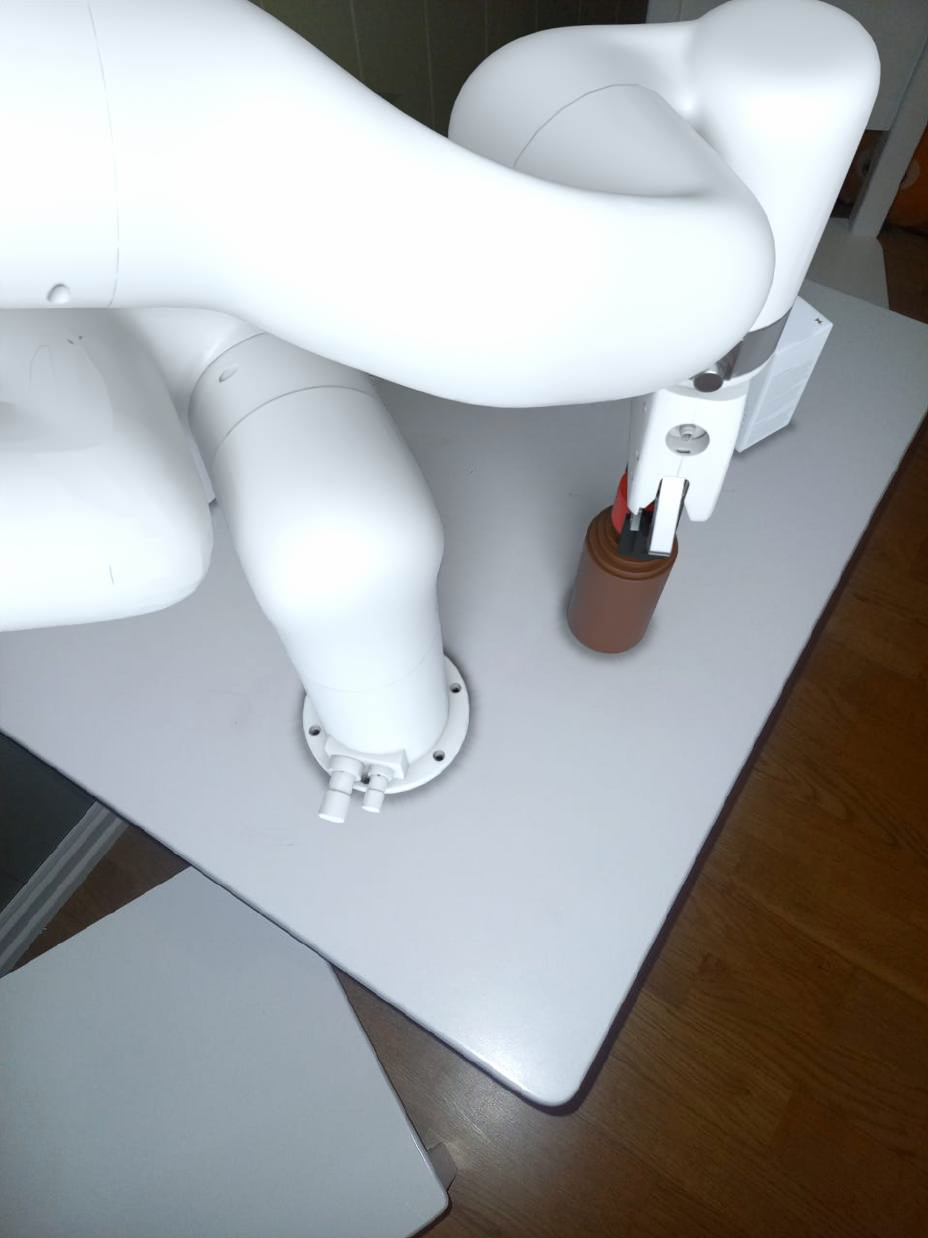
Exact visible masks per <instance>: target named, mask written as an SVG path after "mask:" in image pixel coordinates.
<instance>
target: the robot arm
mask: <svg viewBox="0 0 928 1238" xmlns="http://www.w3.org/2000/svg"><path fill="white" fill-rule="evenodd" d="M880 84H881V60H880V56H879V52H878V47H877V45H876V43H875V41H874V39H873V37H872V36H871V34H870V33H869V32H868V31H867V30H866V28H864V26H863V25H862V24H861V22H860V21H858V20H857V19H856V18H854V16H852V15H851V14H849V13H848V12H847V11H844V10H843V9H841V8H839V7H837V6H835V5H833V4H829V3H828V2H825V1H822V0H729V1H726V2H724V3H722V4H720V5H718V6H716V7H714V8H712V9H710V10H709V11H707V12H706V13H704V14H703V15H701V16H700V17H699V18H696V19H692V20H682V21H671V22H658V23H657V22H655V23H635V24H633V23H632V24H589V25H587V24H586V25H572V26H571V25H570V26H561V27H554V28H548V29H544V30H540V31H536V32H533V33H530V34H527V35H525V36H521V37H519V38H517V39H514V40H512V41H510V42H508V43H507V44H504V45H503V46H501V47H499V48H498V49H496V50H495V51H494V52H492V53H491V54H490V55H488V56H487V57H486V58H485V59H483V61H482V62H481V63H480V64H478V66H477V67H476V68H475V69H474V70H473V71H472V73H471V74H470V75H469V76H468V78H467V79H466V80H465V81H464V83H463V84H462V86H461V88H460V91H459V93H458V95H457V97H456V99H455V101H454V104H453V106H452V110H451V113H450V118H449V122H448V123H449V124H448V130H447V136H444V135H442V134H440V133H438V132H437V131H435V130H433V129H431V128H430V127H428V126H427V125H425V124H423V123H421V122H420V121H418V120H417V119H415V118H413V117H412V116H410V115H409V114H407V113H405V112H404V111H402V110H401V109H399V108H398V107H396V106H395V105H393V104H391V103H390V102H389V101H387V100H386V99H385V98H383V97H382V96H381V95H379V94H377V93H376V92H375V91H373V90H372V89H370V88H369V87H368V86H367V85H365V84H364V83H362V82H361V81H360V80H359V79H357V78H356V77H354V75H352V74H351V73H350V72H348V71H347V70H346V69H344V68H343V67H342V66H341V65H339V64H338V63H336V62H335V61H334V60H333V59H331V58H330V57H328V56H327V54H325V53H324V52H322V51H321V50H320V49H318V48H317V47H316V46H315V45H313V44H312V42H310V41H308V40H307V39H305V38H304V37H303V36H302V35H301V34H299V33H297V32H296V31H295V30H294V29H292V28H290V27H289V26H288V25H286V24H285V23H283V22H282V21H281V20H279V19H277V17H275V16H274V15H272V14H271V13H269V12H267V11H266V10H265V9H262V8H261V7H260V6H258V5H257V4H254V3H253V2H251V1H250V0H0V633H5V632H14V631H23V630H24V631H25V630H33V629H43V628H44V629H45V628H54V627H62V626H75V625H83V624H92V623H99V622H100V623H101V622H108V621H116V620H121V619H122V620H123V619H127V618H134V617H139V616H143V615H148V614H151V613H155V612H158V611H162V610H165V609H167V608H170V607H172V606H173V605H176V604H178V603H180V602H181V601H183V600H184V599H186V598H189V596H191V595H192V594H193V593H194V592H195V591H196V590H197V589H198V588H199V587H200V585H201V584H202V583H203V581H204V580H205V578H206V577H207V574H208V572H209V571H210V567H211V564H212V559H213V554H214V551H215V549H214V548H215V539H214V526H213V524H214V523H213V518H212V514H211V509H210V505H209V504H208V500H207V496H206V493H205V490H204V486H203V483H202V480H201V477H200V474H199V471H198V468H197V465H196V463H195V460H194V457H193V454H192V452H191V449H190V446H195V447H197V448H198V450H199V453H200V455H201V458H202V460H203V463H204V465H205V468H206V471H207V473H208V476H209V478H210V481H211V485H212V489H213V492H214V495H215V499H216V500H215V501H216V502H217V505H218V508H219V510H220V512H221V515H222V519H223V520H224V522H225V526H226V528H227V531H228V534H229V536H230V538H231V541H232V543H233V546H234V549H235V551H236V554H237V557H238V559H239V562H240V565H241V567H242V570H243V572H244V575H245V577H246V579H247V582H248V584H249V587H250V589H251V591H252V594H253V595H254V598H255V599H256V602H257V603H258V606H259V607H260V609H261V611H262V612H263V614H264V615H265V617H266V618H267V619H268V620H269V622H270V623H271V624H272V627H273V629H274V630H275V632H276V634H277V637H278V639H279V640H280V642H281V644H282V646H283V648H284V651H285V653H286V655H287V656H288V658H289V660H290V661H291V663H292V666H293V668H294V669H295V671H296V674H297V676H298V678H299V680H300V682H301V684H302V686H303V688H304V690H305V696H304V700H303V708H302V725H303V732H304V733H303V734H304V736H305V739H306V742H307V745H308V747H309V750H310V751H311V753H312V755H313V757H314V758H315V759H316V761H317V763H318V764H319V766H320V767H321V768H322V769H323V770H324V771H325V772H326V773H327V774H328V775H329V776H330V779H329V781H328V782H329V783H328V786H327V789H326V790H325V791H324V792H323V796H322V799H321V803H320V806H319V809H318V813H317V816H318V818H321V819H322V820H325V821H327V822H332V823H337V824H345V822H346V819H347V815H348V812H349V808H350V804H351V802H352V801H351V800H352V798H353V797H352V796H351V795H352V793H353V789H354V790H356V791H359V792H363V793H365V794H364V796H363V799H362V803H361V809H363V810H364V811H367V812H370V813H376V814H377V813H378V814H379V813H381V811H382V807H383V803H384V801H385V797H386V795H388V794H389V795H390V794H398V793H401V792H407V791H411V790H413V789H416V788H418V787H421V786H422V785H425V784H427V783H428V782H430V781H432V779H435V777H437V776H439V775H441V773H442V772H443V771H444V770H445V769H446V768H447V767H448V766H449V765H450V764H451V763H452V762H453V760H455V757H457V755H458V754H459V752H460V751H461V748H462V746H463V743H464V741H465V739H466V737H467V733H468V730H469V729H468V728H469V725H470V700H469V699H470V698H469V693H468V690H467V686H466V682H465V680H464V678H463V676H462V674H461V673H460V671H459V669H458V668H457V666H456V665H455V663H453V661H452V660H451V659H450V658H449V657H448V656H447V655H446V654H444V648H443V638H442V637H443V636H442V627H441V618H440V610H439V603H438V592H437V579H438V574H439V571H440V567H441V563H442V560H443V556H444V552H445V551H444V550H445V533H444V527H443V521H442V518H441V514H440V511H439V509H438V505H437V504H436V500H435V498H434V495H433V494H432V492H431V489H430V487H429V485H428V483H427V480H426V479H425V477H424V474H423V472H422V471H421V469H420V466H419V465H418V463H417V461H416V459H415V457H414V455H413V453H412V451H411V449H410V448H409V445H408V444H407V442H406V441H405V439H404V437H403V435H402V433H401V431H400V430H399V428H398V426H397V423H395V420H394V419H393V417H392V415H391V413H390V412H389V410H388V408H387V407H386V406H385V403H384V402H383V400H382V398H381V396H380V395H379V393H378V391H377V389H376V386H374V383H373V382H372V380H371V378H370V376H369V374H370V375H372V376H375V377H378V378H381V379H384V380H386V381H389V382H392V383H394V384H397V385H399V386H403V387H406V388H409V389H411V390H415V391H419V392H422V393H424V394H428V395H432V396H435V397H437V398H440V399H441V398H442V399H445V400H451V401H454V402H459V403H463V404H468V405H475V406H483V407H490V408H502V409H503V408H505V409H527V408H543V407H556V406H558V407H559V406H569V405H584V404H593V403H594V404H595V403H603V402H609V401H610V402H611V401H618V400H623V399H628V398H629V399H630V398H631V399H630V411H629V412H630V413H629V422H628V423H629V424H628V426H629V427H628V443H627V462H626V467H625V469H624V470H625V471H624V473H625V472H626V471H628V487H627V505H628V507H629V509H630V510H631V511H632V512H631V513H629V514H626V516H625V520H624V524H623V528H622V532H621V535H620V539H619V543H618V554H619V555H622V556H631V557H634V558H635V559H638V560H653V559H665V558H667V556H669V557H670V555H671V551H672V546H673V541H674V536H675V534H676V535H677V531H678V527H679V522H680V520H681V516H682V513H683V509H684V506H685V510H686V513H687V517H688V518H689V521H690V522H701V523H703V522H706V521H707V520H709V519H710V517H712V515H713V514H714V511H715V508H716V505H717V502H718V500H719V497H720V495H721V491H722V488H723V485H724V483H725V482H724V481H725V479H726V476H727V473H728V471H729V467H730V464H731V461H732V458H733V454H734V451H735V445H736V441H737V438H738V434H739V430H740V427H741V423H742V419H743V415H744V410H745V406H746V401H747V396H748V391H749V385H750V380H751V378H752V377H754V376H756V375H757V374H758V373H760V372H761V371H762V370H763V369H764V368H765V367H766V366H767V365H768V363H769V362H770V361H771V359H772V357H773V355H774V352H775V350H776V347H777V345H778V342H779V339H780V337H781V335H782V332H783V330H784V327H785V325H786V322H787V320H788V317H789V315H790V312H791V310H792V307H793V305H794V302H795V300H796V297H797V295H798V294H799V293H800V289H801V287H802V285H803V282H804V280H805V278H806V275H807V272H808V270H809V268H810V265H811V263H812V260H813V258H814V256H815V253H816V251H817V248H818V246H819V244H820V241H821V238H822V236H823V234H824V232H825V229H826V226H827V224H828V221H829V220H830V216H831V214H832V211H833V209H834V206H835V204H836V202H837V199H838V197H839V194H840V192H841V189H842V187H843V184H844V182H845V179H846V177H847V174H848V172H849V169H850V168H851V164H852V162H853V159H854V158H855V155H856V153H857V150H858V147H859V145H860V142H861V140H862V137H863V135H864V133H865V130H866V127H867V125H868V124H869V123H868V122H869V120H870V117H871V114H872V112H873V108H874V105H875V103H876V100H877V97H878V94H879V89H880ZM649 504H652V505H655V506H654V511H648V510H644V508H645V507H646V506H648V505H649ZM455 690H457V691H458V692H454V691H455ZM316 732H319V733H318V734H315V733H316ZM438 757H440V758H442V760H437V759H438ZM366 780H369V781H368V783H366Z"/></svg>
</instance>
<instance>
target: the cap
mask: <svg viewBox="0 0 928 1238" xmlns="http://www.w3.org/2000/svg"><path fill="white" fill-rule="evenodd" d="M627 487H628V471H626V472H625V471H624V473H623V475H622V476H621V477H620V480H619V483H618V486H617V490H616V494H615V498H614V501H613V504H614V505H613V504H612V505H613V508H612V512H611V519H612V523H613V525H614V527H615V528H616V530H617V531H618V532H619V533H620V534H621V532H622V528H623V524H624V520H625V516H626V514H629V513H631V512H632V511H631V510H630V509H629V507H628V505H627ZM654 506H655V505H652V504H649V505H648V506H646V507H645V508H644V510H648V511H654Z"/></svg>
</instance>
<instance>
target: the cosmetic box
mask: <svg viewBox="0 0 928 1238" xmlns="http://www.w3.org/2000/svg"><path fill="white" fill-rule="evenodd" d="M833 326H834V323H833V322H832V321H831V320H829V319H828V318H826V316H824V315H823V314H822V313H820V312H819V311H818V310H817V309H816V308H815V307H813V306H812V305H811V304H810V303H809V302H807V300H805V299H803V298H802V296H800V295H798V294H797V297H796V300H795V302H794V305H793V307H792V310H791V312H790V315H789V317H788V320H787V322H786V325H785V327H784V330H783V332H782V335H781V337H780V339H779V342H778V345H777V347H776V350H775V352H774V355H773V357H772V359H771V361H770V362H769V363H768V365H767V366H766V367H765V368H764V369H763V370H762V371H761V372H760V373H758V374H757V375H756V376H754V377H752V378H751V380H750V385H749V391H748V396H747V401H746V406H745V410H744V415H743V419H742V423H741V427H740V430H739V434H738V438H737V441H736V445H735V448H734V450H735V451H737V452H738V453H742V452H744V451H745V450H747V449H749V448H750V447H752V446H753V445H755V444H757V443H759V442H760V441H762V440H763V439H766V438H768V437H769V436H770V435H773V434H774V433H775V432H778V431H780V430H781V429H783V428H784V427H786V426H788V425H789V424H790V422H791V419H792V417H793V415H794V413H795V411H796V408H797V406H798V404H799V402H800V400H801V398H802V395H803V393H804V391H805V389H806V386H807V384H808V382H809V379H810V377H811V375H812V374H813V373H812V372H813V371H814V369H815V367H816V364H817V362H818V360H819V357H820V355H821V353H822V351H823V349H824V346H825V344H826V342H827V340H828V337H829V335H830V333H831V331H832V328H833Z"/></svg>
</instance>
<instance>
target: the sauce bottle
mask: <svg viewBox="0 0 928 1238" xmlns="http://www.w3.org/2000/svg"><path fill="white" fill-rule="evenodd" d="M613 505H614V503H613V504H611V505H609V506H607V507H604V509H602V510H601V511H600V512H599V513H598V514H597V515H595V516H594V518H593V519H592V520H591V522H590V523H589V525H588V527H587V530H586V533H585V536H584V540H583V545H582V549H581V554H580V558H579V562H578V566H577V570H576V574H575V580H574V583H573V588H572V590H571V591H572V592H571V596H570V599H569V604H568V608H567V623H568V627H569V628H570V631H571V633H572V634H573V636H574V637H575V638H576V640H577V641H578V642H580V643H581V644H582V645H583V646H585V647H586V648H588V649H590V650H592V651H594V652H598V653H601V654H619V653H625V652H626V651H629V650H631V649H633V648H634V647H636V646H637V645H638V644H639V643H640V642H641V640H642V639H643V638H644V636H645V635H646V632H647V629H648V627H649V625H650V622H651V620H652V617H653V615H654V613H655V611H656V608H657V605H658V603H659V601H660V599H661V596H662V594H663V591H664V589H665V586H666V584H667V582H668V579H669V577H670V575H671V572H672V570H673V568H674V565H675V563H676V560H677V557H678V554H679V541H678V535H677V533H676V534H675V536H674V541H673V546H672V551H671V555H670V557H669V556H667V558H665V559H653V560H638V559H635V558H634V557H631V556H622V555H619V554H618V543H619V539H620V535H621V534H620V533H619V532H618V531H617V530H616V528H615V527H614V525H613V523H612V519H611V512H612V508H613Z"/></svg>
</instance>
